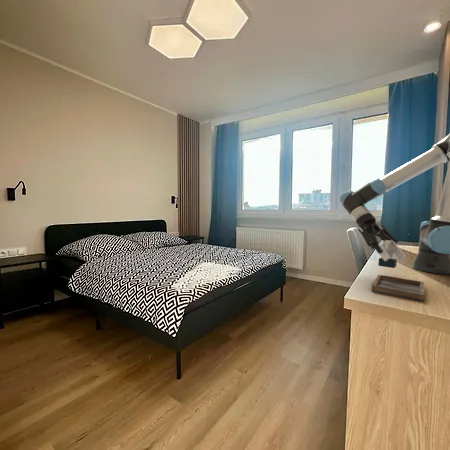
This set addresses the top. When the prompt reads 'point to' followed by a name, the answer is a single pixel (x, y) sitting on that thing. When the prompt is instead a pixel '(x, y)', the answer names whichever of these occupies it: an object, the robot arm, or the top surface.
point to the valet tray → (399, 287)
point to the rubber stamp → (390, 248)
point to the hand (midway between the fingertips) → (395, 258)
